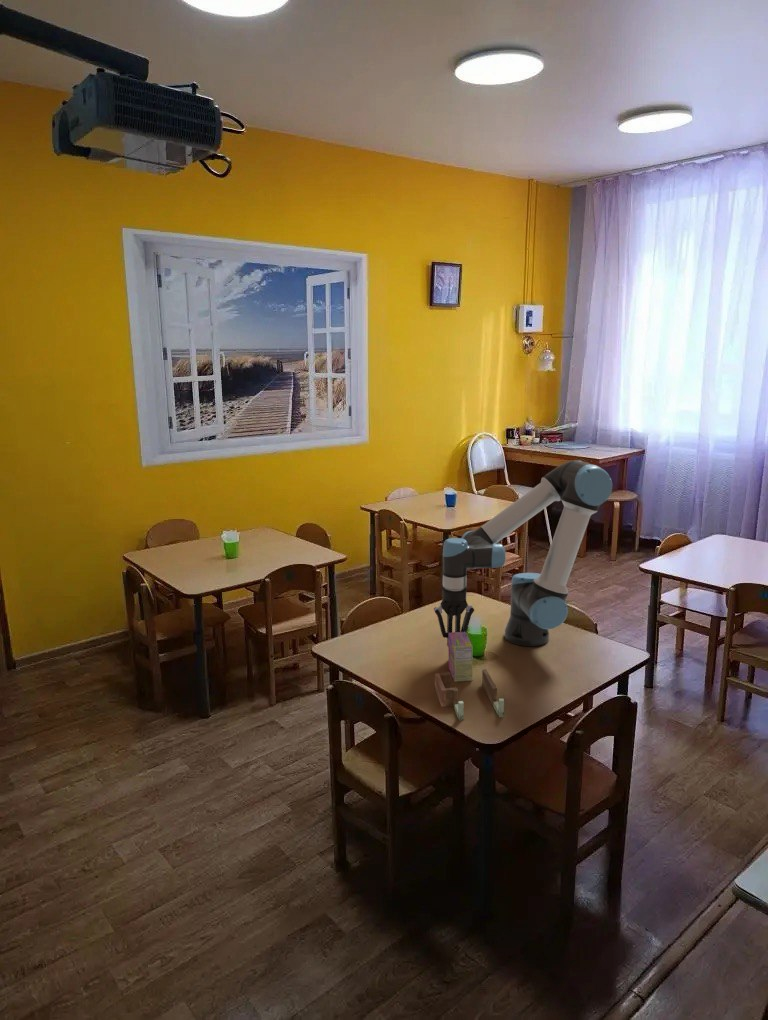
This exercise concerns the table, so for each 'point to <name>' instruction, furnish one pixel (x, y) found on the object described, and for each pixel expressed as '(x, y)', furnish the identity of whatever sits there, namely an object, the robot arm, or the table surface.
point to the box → (460, 656)
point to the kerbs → (498, 707)
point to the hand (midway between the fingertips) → (453, 656)
